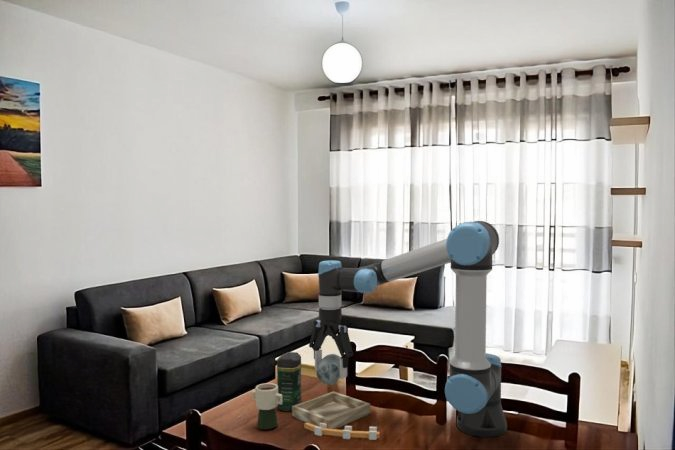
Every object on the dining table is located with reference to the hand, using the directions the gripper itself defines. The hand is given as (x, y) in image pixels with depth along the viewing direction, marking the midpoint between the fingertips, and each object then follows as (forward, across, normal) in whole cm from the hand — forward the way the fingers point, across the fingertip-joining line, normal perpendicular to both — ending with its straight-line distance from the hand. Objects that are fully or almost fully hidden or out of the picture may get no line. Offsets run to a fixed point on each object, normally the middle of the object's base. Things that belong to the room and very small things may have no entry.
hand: (330, 373), depth 178 cm
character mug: (+14, +8, +20) cm, 26 cm away
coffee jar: (+14, +16, +4) cm, 22 cm away
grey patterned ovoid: (+3, 0, 0) cm, 3 cm away
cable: (+14, -12, +7) cm, 20 cm away
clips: (+14, -15, +8) cm, 22 cm away
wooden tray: (+14, 0, 0) cm, 14 cm away
